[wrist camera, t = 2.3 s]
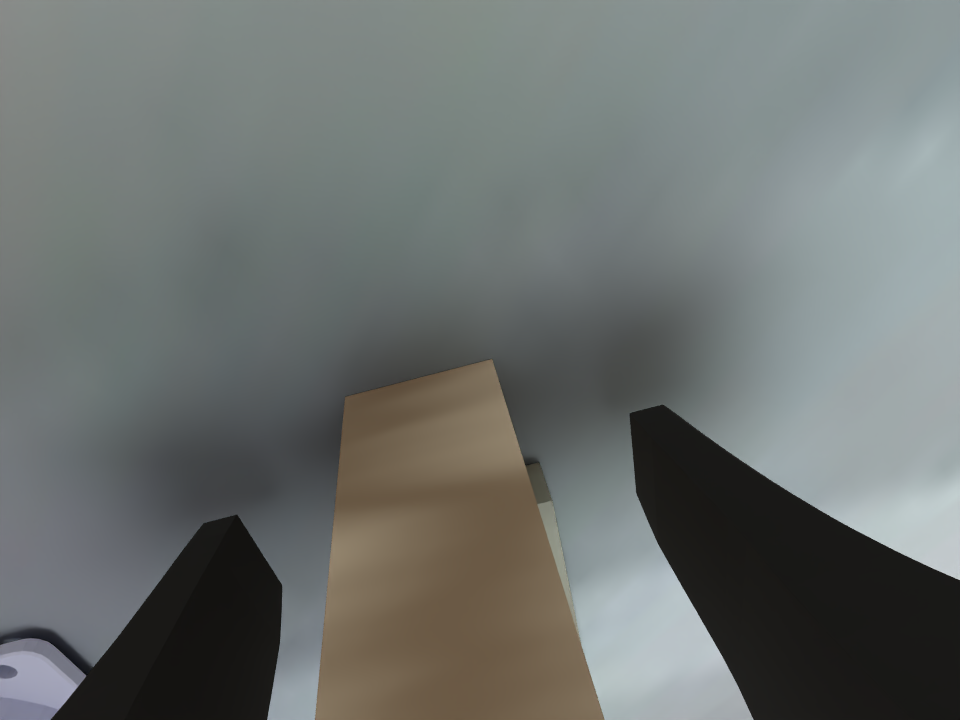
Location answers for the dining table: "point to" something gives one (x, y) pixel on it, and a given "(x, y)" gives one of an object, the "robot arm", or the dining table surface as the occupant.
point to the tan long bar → (446, 565)
